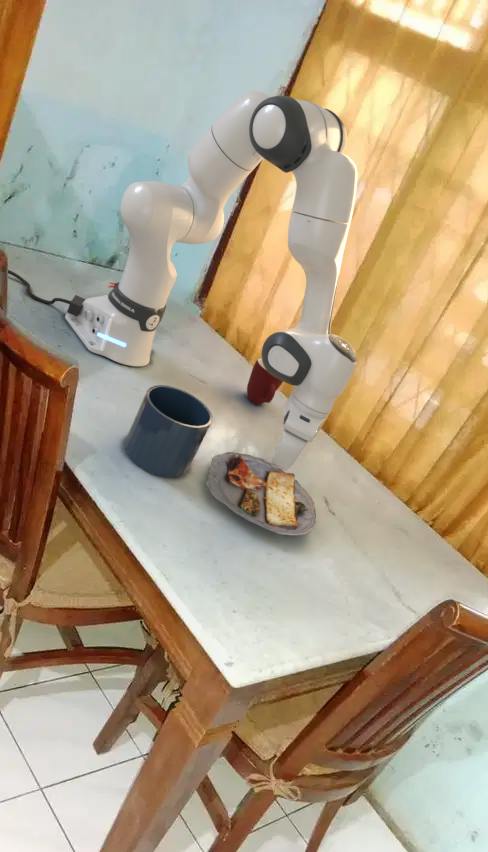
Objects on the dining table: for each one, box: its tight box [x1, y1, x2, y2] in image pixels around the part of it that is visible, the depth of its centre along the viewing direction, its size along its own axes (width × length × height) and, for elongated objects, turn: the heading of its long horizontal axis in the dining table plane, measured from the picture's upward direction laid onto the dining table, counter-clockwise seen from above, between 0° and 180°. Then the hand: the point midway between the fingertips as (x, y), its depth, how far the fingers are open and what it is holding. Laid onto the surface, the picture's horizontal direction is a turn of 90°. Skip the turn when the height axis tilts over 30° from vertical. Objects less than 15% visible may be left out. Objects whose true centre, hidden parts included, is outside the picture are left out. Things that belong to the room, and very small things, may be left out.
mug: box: [246, 356, 284, 406], centre depth 177 cm, size 10×8×10 cm
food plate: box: [205, 451, 317, 536], centre depth 143 cm, size 25×23×4 cm
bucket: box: [123, 384, 214, 479], centre depth 137 cm, size 13×13×12 cm
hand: (274, 464), depth 153 cm, fingers closed
